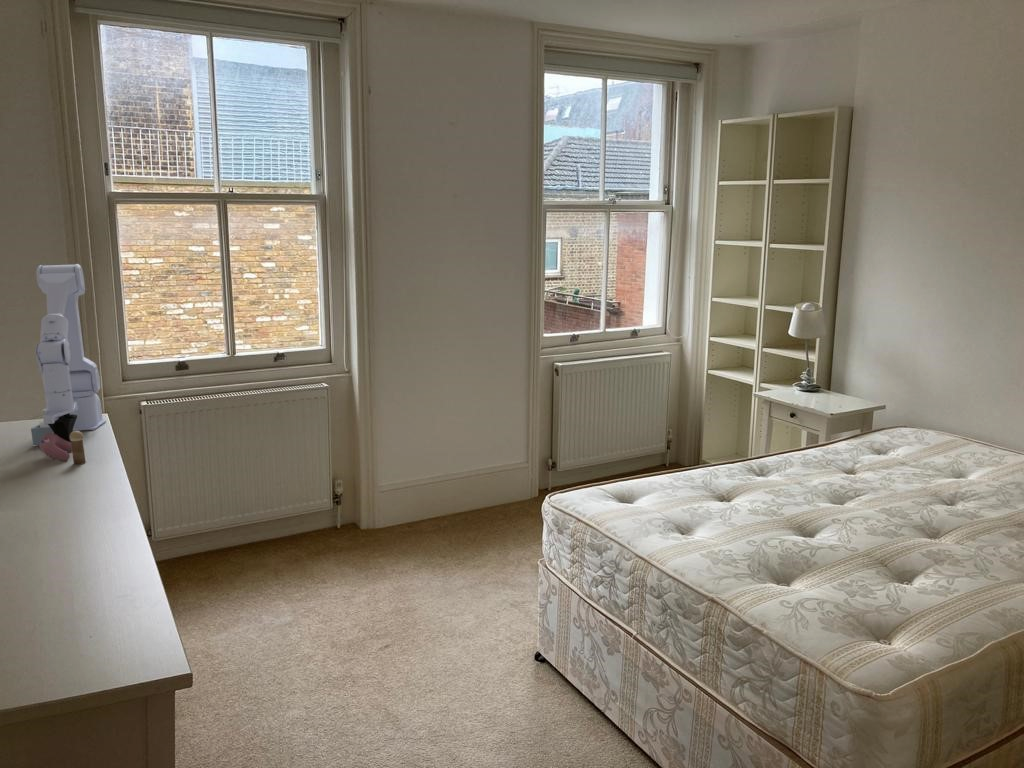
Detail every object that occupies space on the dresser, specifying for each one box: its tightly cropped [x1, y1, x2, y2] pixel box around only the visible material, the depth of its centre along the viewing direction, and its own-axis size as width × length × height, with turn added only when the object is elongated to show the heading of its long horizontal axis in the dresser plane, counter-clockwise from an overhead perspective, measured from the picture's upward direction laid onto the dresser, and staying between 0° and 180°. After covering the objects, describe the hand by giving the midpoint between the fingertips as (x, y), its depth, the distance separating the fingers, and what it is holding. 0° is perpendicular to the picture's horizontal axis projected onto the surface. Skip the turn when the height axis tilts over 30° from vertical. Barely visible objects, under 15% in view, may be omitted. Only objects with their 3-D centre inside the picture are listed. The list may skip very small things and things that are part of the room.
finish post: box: [69, 430, 87, 465], centre depth 188 cm, size 3×3×8 cm
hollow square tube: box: [30, 423, 54, 446], centre depth 207 cm, size 6×6×4 cm
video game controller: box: [39, 432, 72, 462], centre depth 193 cm, size 10×5×7 cm, turn 21°
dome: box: [38, 420, 50, 427], centre depth 207 cm, size 4×4×4 cm
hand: (65, 445), depth 199 cm, fingers closed
